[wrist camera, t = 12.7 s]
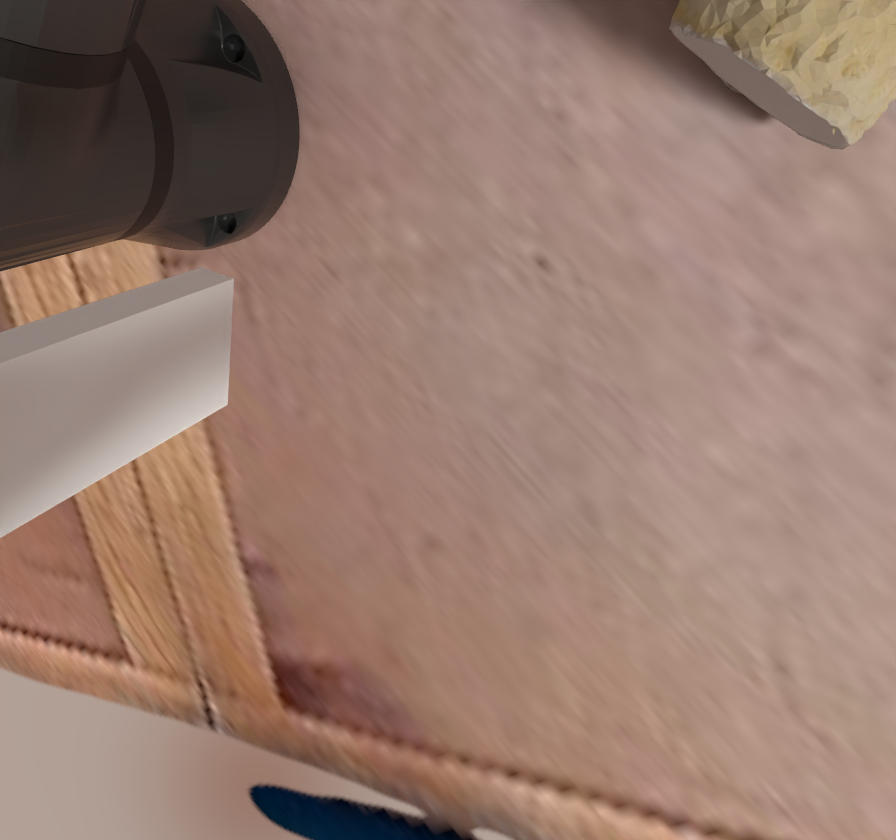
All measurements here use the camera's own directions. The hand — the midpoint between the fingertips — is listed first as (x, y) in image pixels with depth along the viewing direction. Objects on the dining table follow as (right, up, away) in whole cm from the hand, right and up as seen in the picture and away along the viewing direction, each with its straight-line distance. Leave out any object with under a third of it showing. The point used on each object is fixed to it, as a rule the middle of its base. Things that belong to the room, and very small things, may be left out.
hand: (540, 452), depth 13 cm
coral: (+14, +18, +20) cm, 30 cm away
